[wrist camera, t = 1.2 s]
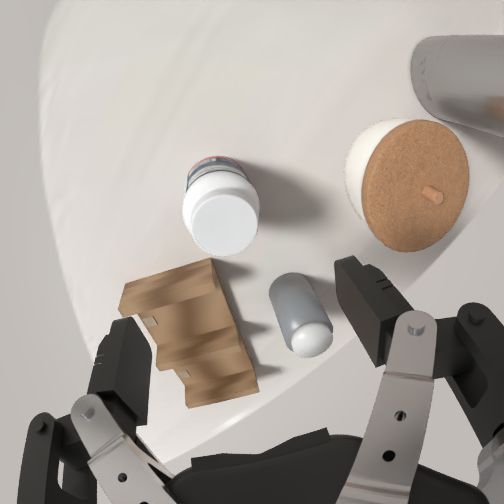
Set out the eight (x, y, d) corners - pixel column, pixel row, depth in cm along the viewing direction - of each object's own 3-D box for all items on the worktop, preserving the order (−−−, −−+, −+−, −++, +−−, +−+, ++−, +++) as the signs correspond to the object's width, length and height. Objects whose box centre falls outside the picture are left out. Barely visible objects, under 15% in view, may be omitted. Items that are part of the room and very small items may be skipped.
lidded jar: (432, 142, 27) (498, 169, 18) (388, 229, 31) (441, 276, 23) (355, 88, 23) (422, 94, 15) (306, 193, 27) (351, 240, 19)
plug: (306, 267, 31) (335, 318, 24) (311, 299, 33) (338, 350, 26) (264, 280, 31) (284, 335, 24) (273, 311, 33) (292, 366, 26)
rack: (210, 257, 29) (213, 281, 25) (253, 367, 37) (259, 391, 34) (125, 283, 29) (117, 309, 25) (187, 383, 37) (188, 408, 34)
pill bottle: (237, 219, 27) (255, 273, 20) (179, 208, 26) (173, 260, 18) (253, 162, 25) (280, 195, 17) (192, 149, 24) (189, 176, 16)
